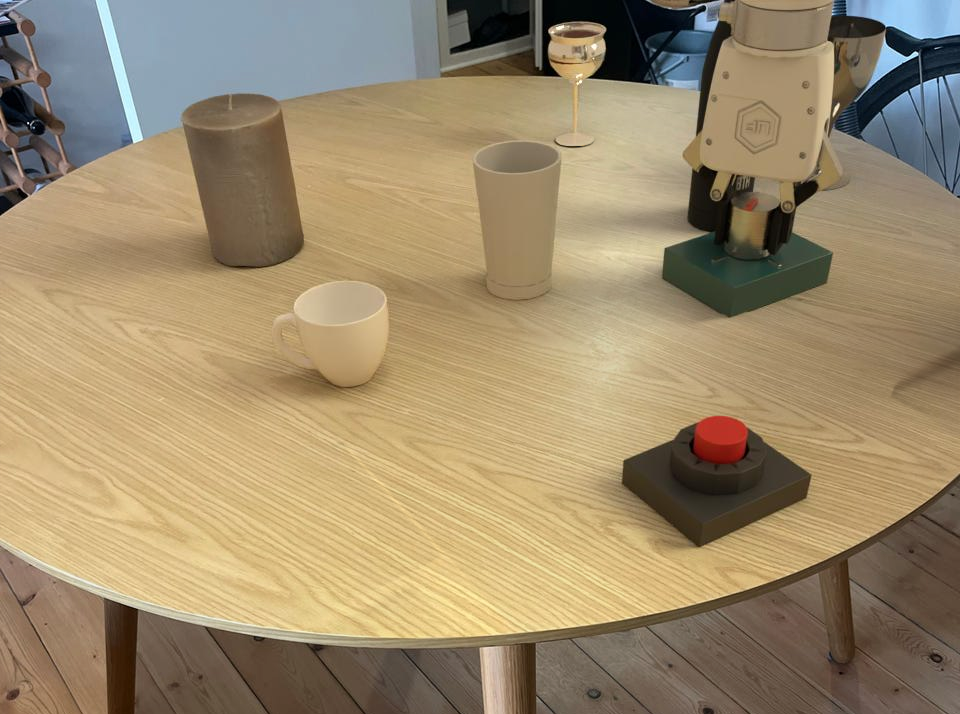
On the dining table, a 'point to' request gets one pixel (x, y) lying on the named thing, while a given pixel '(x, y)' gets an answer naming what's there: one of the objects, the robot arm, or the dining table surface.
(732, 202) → the dial
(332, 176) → the dining table surface
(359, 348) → the cup
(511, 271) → the cup
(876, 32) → the metal goblet
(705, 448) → the red button
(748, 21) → the robot arm
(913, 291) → the dining table surface
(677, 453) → the red button base
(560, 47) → the wineglass
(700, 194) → the wine bottle
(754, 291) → the dial panel
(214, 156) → the pillar candle
